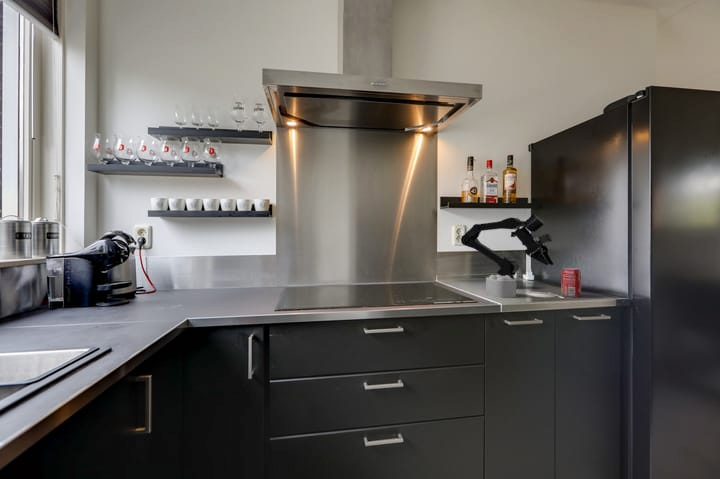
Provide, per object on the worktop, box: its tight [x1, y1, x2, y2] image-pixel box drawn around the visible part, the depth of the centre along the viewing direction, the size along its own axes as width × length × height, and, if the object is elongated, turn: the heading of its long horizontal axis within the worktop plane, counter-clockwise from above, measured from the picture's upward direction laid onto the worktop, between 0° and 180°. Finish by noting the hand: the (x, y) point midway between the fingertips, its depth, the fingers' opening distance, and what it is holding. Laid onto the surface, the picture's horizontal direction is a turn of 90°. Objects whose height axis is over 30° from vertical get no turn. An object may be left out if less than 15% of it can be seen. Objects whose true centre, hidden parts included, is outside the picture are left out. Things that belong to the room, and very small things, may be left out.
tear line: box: [547, 292, 565, 299], centre depth 137 cm, size 12×1×1 cm, turn 175°
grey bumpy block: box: [485, 274, 517, 299], centre depth 138 cm, size 10×13×9 cm
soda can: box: [560, 267, 582, 298], centre depth 136 cm, size 7×7×12 cm
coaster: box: [525, 291, 556, 299], centre depth 138 cm, size 11×11×1 cm
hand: (550, 264), depth 143 cm, fingers open, 9 cm apart
